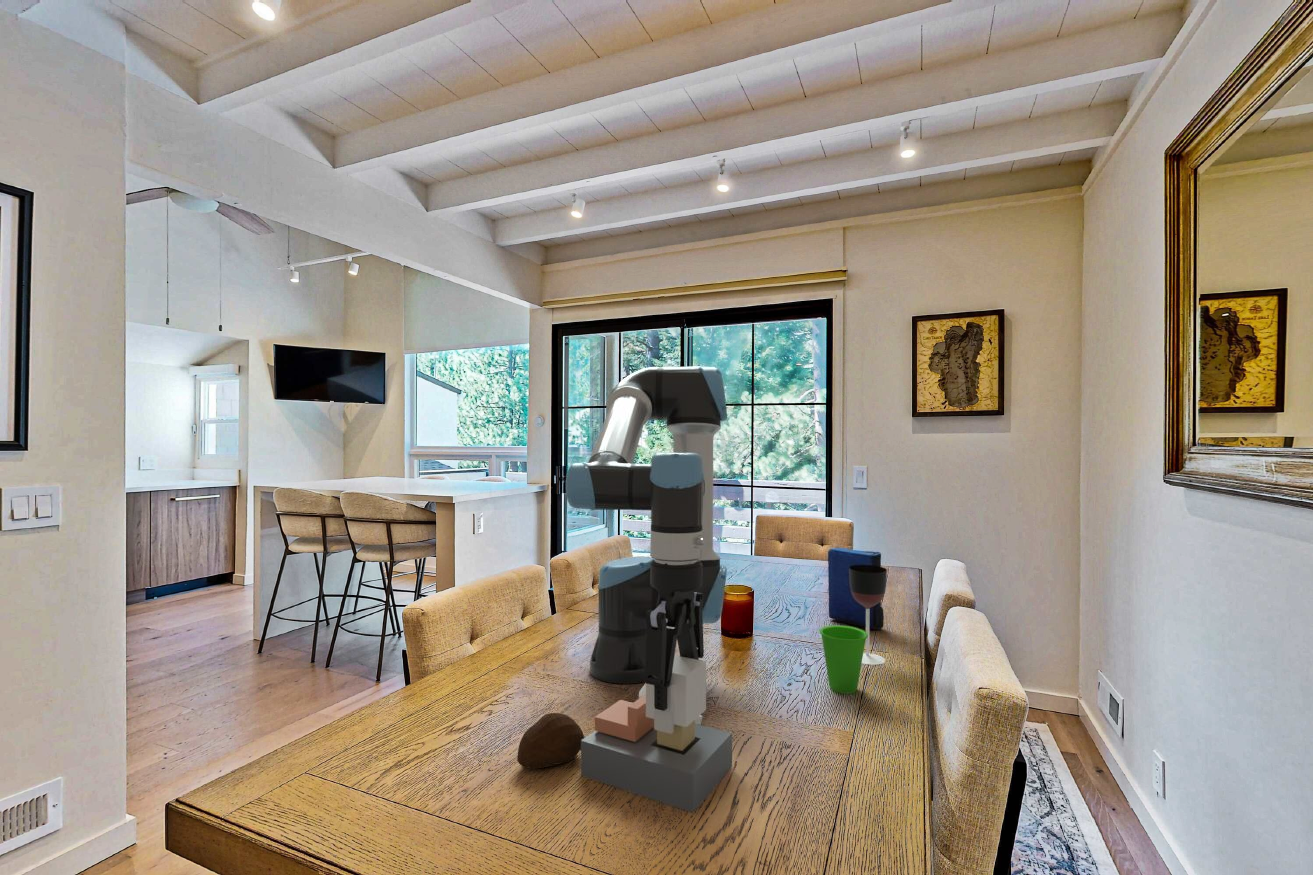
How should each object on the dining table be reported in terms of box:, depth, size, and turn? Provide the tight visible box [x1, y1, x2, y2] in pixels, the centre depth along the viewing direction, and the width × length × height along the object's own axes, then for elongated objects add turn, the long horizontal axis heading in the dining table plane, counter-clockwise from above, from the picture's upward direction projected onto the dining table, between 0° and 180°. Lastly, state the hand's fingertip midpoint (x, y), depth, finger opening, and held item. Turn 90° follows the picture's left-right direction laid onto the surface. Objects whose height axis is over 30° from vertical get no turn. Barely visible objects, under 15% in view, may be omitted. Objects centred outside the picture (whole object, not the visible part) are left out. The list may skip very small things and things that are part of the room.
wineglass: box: [849, 565, 888, 666], centre depth 136 cm, size 8×9×20 cm
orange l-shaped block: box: [594, 694, 654, 742], centre depth 92 cm, size 7×7×4 cm
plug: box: [646, 654, 707, 751], centre depth 88 cm, size 6×6×11 cm
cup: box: [819, 624, 868, 695], centre depth 120 cm, size 9×9×11 cm
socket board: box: [580, 724, 733, 814], centre depth 89 cm, size 18×13×5 cm
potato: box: [516, 712, 585, 770], centre depth 92 cm, size 7×10×7 cm
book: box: [827, 546, 885, 630], centre depth 162 cm, size 14×5×20 cm, turn 42°
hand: (675, 720), depth 88 cm, fingers closed on plug, 6 cm apart
